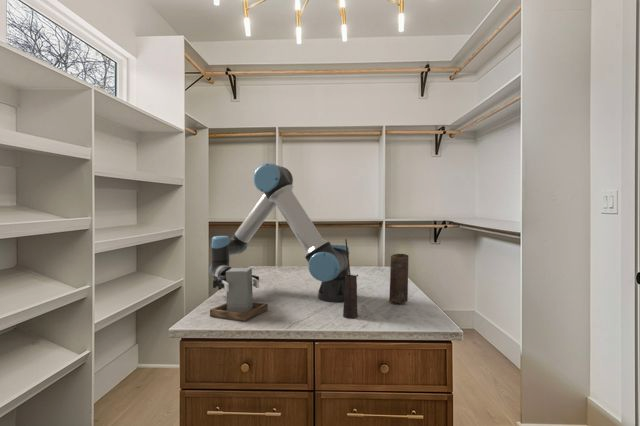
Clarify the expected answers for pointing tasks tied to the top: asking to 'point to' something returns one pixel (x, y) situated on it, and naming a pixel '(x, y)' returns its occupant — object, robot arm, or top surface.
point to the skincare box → (239, 290)
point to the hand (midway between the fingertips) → (243, 285)
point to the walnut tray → (223, 313)
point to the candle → (399, 278)
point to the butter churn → (350, 293)
